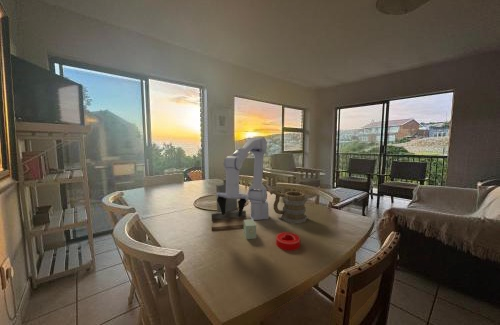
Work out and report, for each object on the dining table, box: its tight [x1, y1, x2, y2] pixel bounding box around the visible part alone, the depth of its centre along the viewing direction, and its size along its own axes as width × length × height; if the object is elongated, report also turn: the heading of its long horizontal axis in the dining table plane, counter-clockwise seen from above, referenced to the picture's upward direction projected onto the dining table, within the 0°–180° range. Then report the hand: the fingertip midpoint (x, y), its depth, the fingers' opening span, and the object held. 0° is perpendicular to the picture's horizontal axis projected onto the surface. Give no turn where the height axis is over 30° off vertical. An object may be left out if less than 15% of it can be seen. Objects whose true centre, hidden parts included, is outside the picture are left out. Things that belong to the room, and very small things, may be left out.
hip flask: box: [215, 178, 238, 213], centre depth 121 cm, size 16×4×20 cm, turn 143°
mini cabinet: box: [243, 218, 257, 240], centre depth 91 cm, size 4×8×6 cm, turn 10°
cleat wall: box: [211, 209, 248, 231], centre depth 103 cm, size 18×10×5 cm, turn 100°
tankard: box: [269, 189, 308, 225], centre depth 111 cm, size 20×13×15 cm, turn 65°
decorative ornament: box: [275, 231, 301, 251], centre depth 83 cm, size 10×10×3 cm
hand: (231, 215), depth 87 cm, fingers open, 7 cm apart
